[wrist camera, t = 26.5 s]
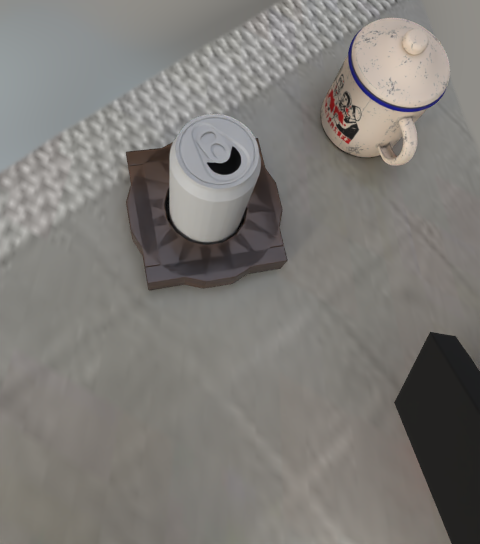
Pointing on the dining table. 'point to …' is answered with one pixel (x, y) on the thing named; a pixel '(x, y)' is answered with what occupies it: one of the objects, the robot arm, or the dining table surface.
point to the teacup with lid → (385, 89)
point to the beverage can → (211, 177)
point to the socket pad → (192, 256)
